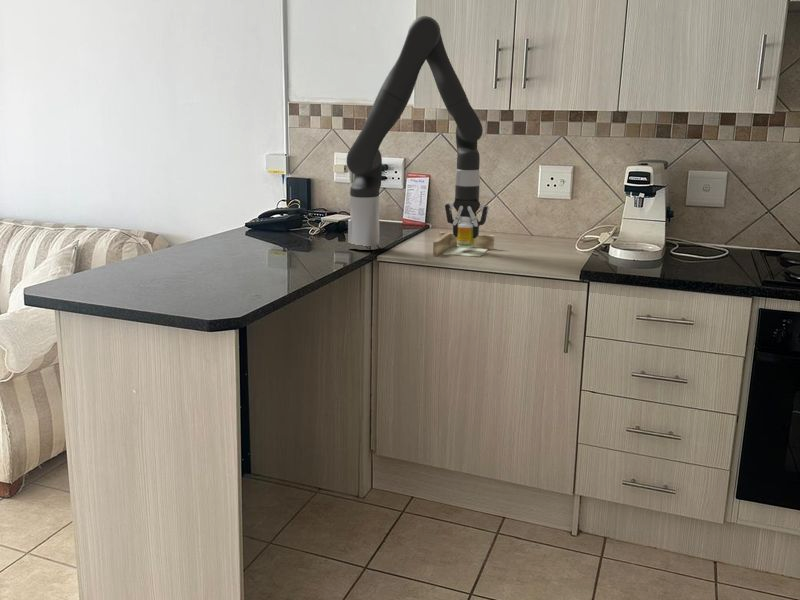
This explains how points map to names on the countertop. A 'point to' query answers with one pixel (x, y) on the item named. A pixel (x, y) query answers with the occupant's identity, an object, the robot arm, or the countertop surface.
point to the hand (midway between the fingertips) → (465, 237)
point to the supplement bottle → (465, 232)
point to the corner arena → (450, 240)
